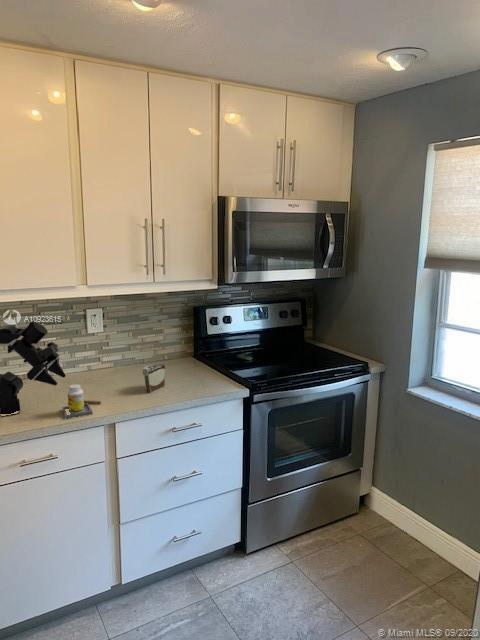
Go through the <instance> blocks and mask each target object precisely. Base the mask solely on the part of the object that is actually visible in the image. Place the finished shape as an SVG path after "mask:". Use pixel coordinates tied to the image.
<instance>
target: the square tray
mask: <svg viewBox="0 0 480 640" xmlns="http://www.w3.org/2000/svg"><path fill="white" fill-rule="evenodd" d="M61 408H62V409H63V410H62V409H61V410H62V412H64V413H63V416H64V415H65V416H64V418H69V419H73V418H72V417H75V418H78V417H77V416H80V417H84V416H83V415H86V416H90V415H89V414H91V415H93V410H92V408H91V405H90V404H88V403H84V411H83V412H81V413H76V414H73V413H71V414H70V415H67V414H66V411H65V409H69V405H67V406H62V407H61Z"/></svg>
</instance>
